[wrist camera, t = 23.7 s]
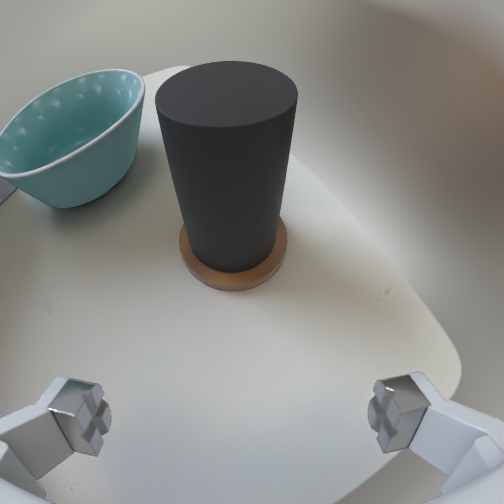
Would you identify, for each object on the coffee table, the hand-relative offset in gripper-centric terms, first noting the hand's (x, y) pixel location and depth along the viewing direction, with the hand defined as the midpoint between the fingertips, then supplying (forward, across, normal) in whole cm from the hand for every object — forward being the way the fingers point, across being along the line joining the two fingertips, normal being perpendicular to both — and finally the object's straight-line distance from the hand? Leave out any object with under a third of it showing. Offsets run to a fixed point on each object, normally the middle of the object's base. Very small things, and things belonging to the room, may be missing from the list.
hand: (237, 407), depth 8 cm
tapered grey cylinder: (+11, 0, -6) cm, 13 cm away
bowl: (+22, +16, -7) cm, 28 cm away
